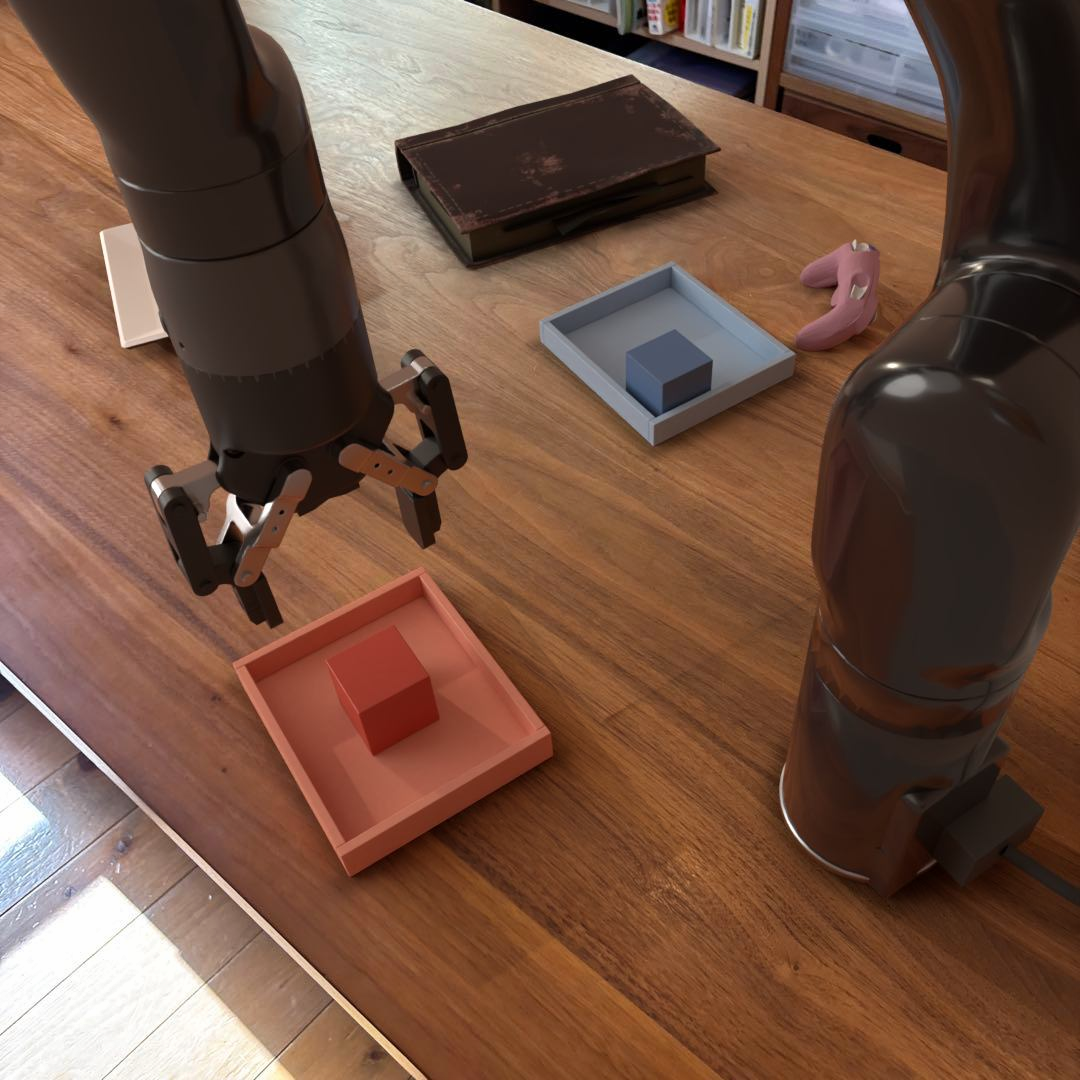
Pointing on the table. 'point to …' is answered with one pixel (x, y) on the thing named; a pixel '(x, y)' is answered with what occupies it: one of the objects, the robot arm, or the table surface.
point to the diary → (554, 170)
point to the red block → (383, 689)
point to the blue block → (667, 372)
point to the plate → (131, 288)
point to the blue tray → (648, 312)
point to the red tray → (413, 763)
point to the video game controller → (842, 295)
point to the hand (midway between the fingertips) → (347, 575)
